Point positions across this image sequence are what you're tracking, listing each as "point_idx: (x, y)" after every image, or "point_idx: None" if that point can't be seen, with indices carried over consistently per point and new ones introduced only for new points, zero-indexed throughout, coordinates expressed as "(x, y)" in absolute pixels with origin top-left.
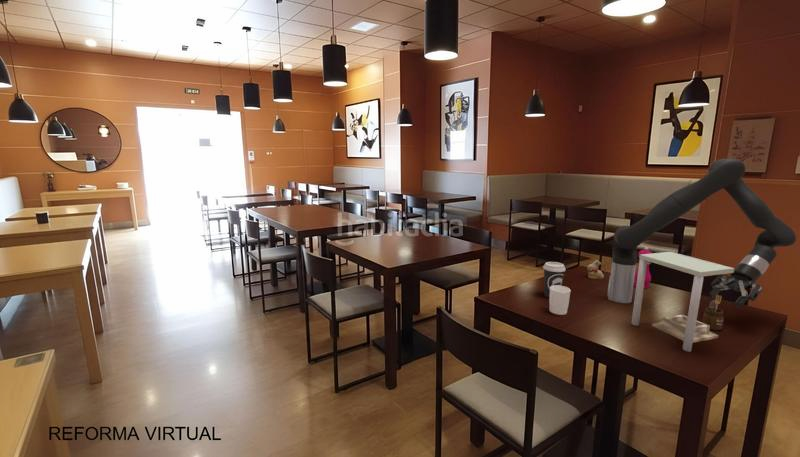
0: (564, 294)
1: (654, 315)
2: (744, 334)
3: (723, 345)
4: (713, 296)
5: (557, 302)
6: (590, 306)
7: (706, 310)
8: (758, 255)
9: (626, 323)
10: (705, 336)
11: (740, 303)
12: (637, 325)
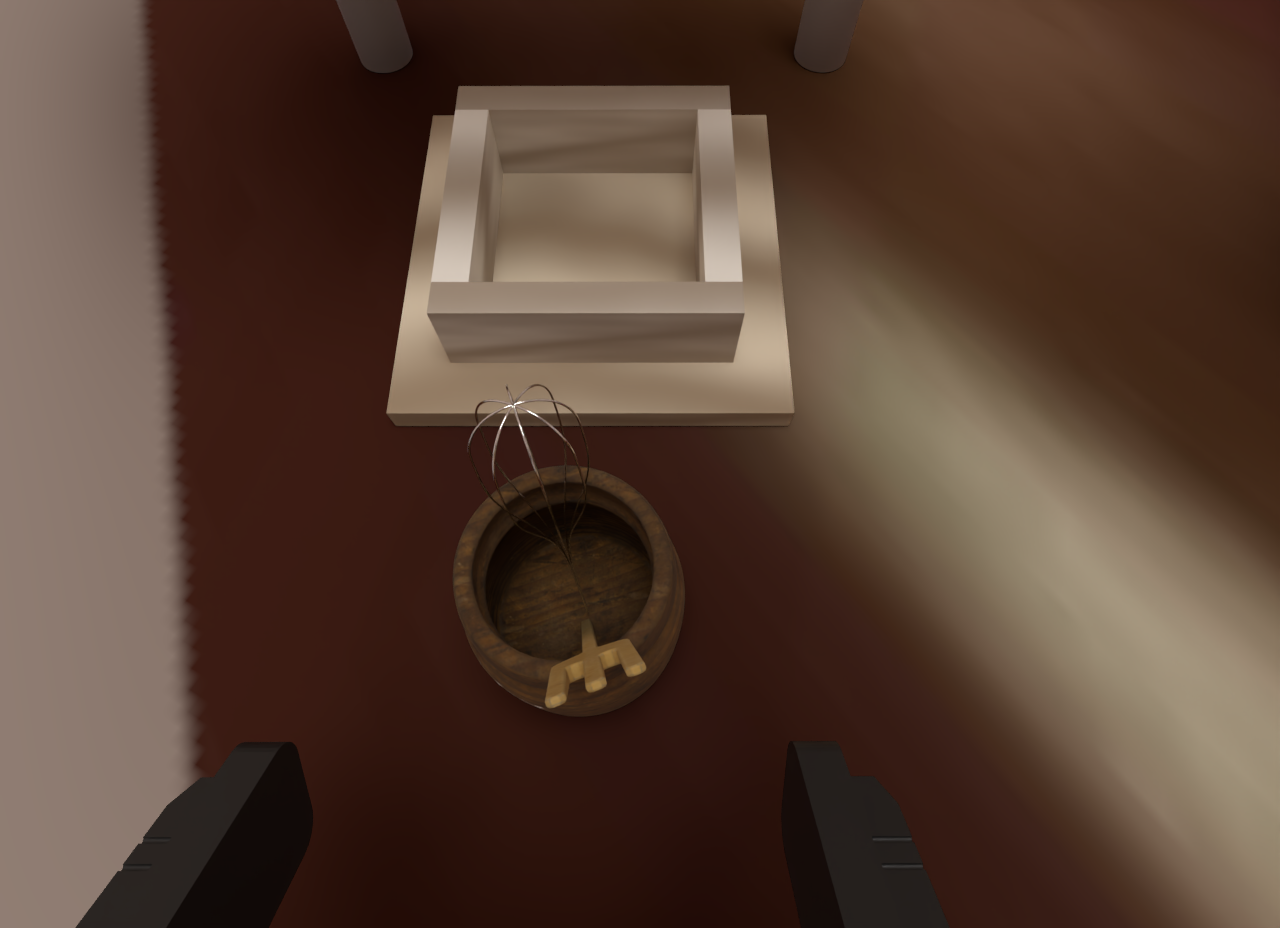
0: None
1: (967, 324)
2: (314, 806)
3: (295, 333)
4: (792, 814)
5: None
6: (1208, 6)
7: (618, 480)
8: None
9: None
10: (425, 282)
11: (173, 804)
12: (794, 50)
